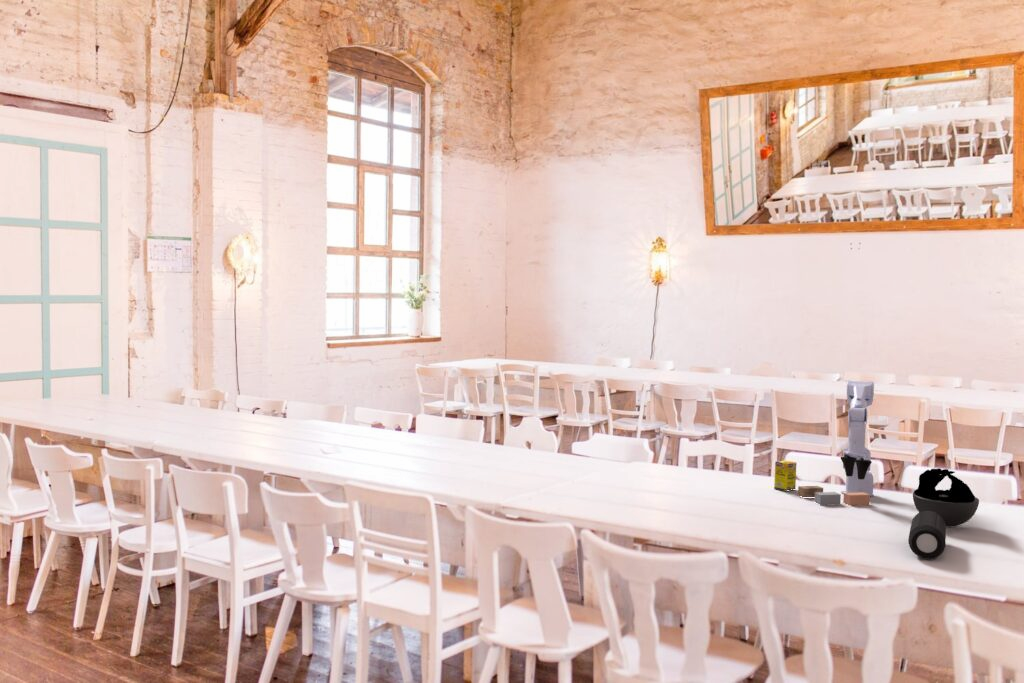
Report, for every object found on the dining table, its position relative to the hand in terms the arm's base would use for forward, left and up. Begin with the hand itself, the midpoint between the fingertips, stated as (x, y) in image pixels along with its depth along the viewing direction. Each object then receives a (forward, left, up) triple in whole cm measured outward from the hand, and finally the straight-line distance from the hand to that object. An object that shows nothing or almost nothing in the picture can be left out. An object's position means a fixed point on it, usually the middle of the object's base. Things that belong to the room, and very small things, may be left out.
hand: (855, 477), depth 339 cm
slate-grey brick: (+10, -2, -10) cm, 14 cm away
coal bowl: (-12, +34, -10) cm, 37 cm away
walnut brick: (+10, -13, -10) cm, 19 cm away
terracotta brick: (-1, 0, -10) cm, 10 cm away
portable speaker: (+13, +59, -10) cm, 61 cm away
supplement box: (+13, -26, -10) cm, 31 cm away
